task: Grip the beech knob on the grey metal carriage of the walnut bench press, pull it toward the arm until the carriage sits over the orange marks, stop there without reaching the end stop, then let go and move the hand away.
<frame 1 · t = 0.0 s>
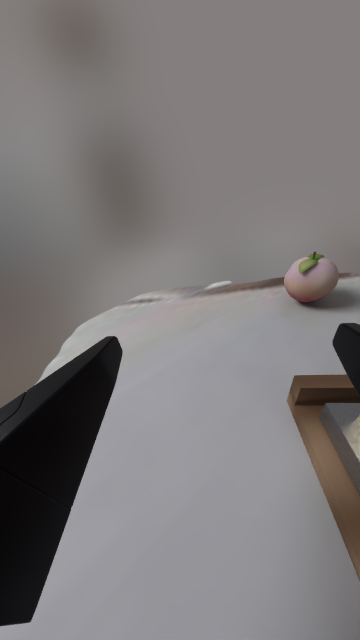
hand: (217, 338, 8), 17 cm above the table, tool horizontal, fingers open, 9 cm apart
decorative fruit: (304, 302, 38), on the table
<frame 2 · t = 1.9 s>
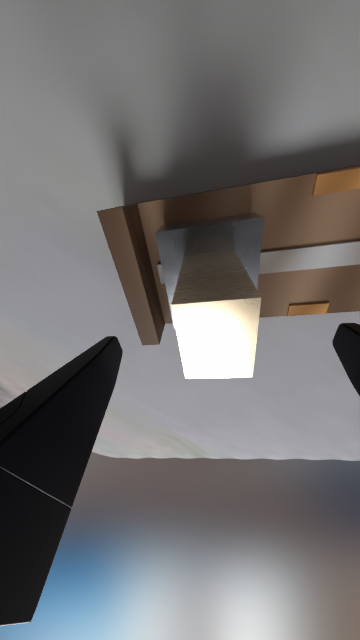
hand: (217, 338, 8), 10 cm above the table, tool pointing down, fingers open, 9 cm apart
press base: (270, 255, 15), on the table
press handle: (211, 296, 11), point 6 cm above the table, slide at 0.0 cm
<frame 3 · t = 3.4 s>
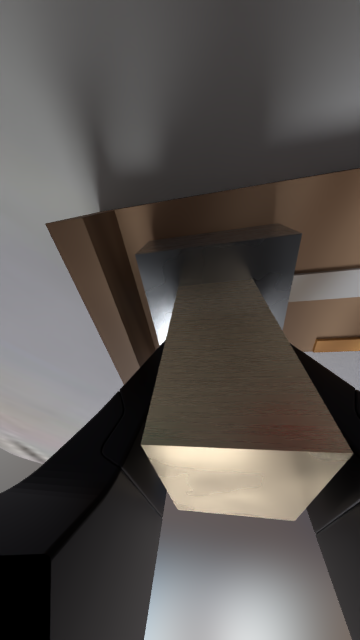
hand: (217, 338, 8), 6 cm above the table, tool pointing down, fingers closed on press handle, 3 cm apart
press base: (293, 276, 12), on the table
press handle: (219, 349, 7), point 6 cm above the table, slide at 0.0 cm, touching gripper
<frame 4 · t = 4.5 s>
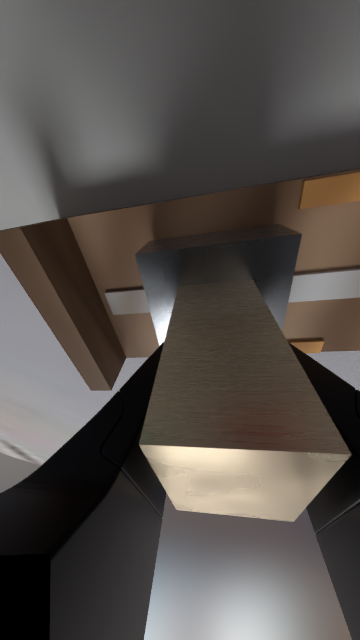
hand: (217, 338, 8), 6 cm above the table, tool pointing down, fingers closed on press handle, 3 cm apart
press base: (249, 280, 12), on the table
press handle: (218, 349, 7), point 6 cm above the table, slide at 2.6 cm, touching gripper
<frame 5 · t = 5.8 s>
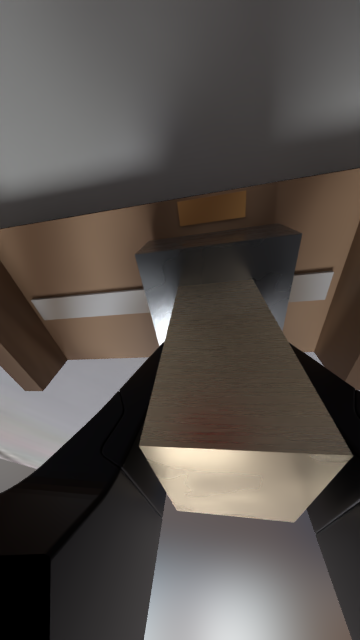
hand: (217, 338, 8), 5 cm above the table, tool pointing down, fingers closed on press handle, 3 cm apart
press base: (169, 288, 13), on the table
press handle: (218, 349, 7), point 6 cm above the table, slide at 7.9 cm, touching gripper
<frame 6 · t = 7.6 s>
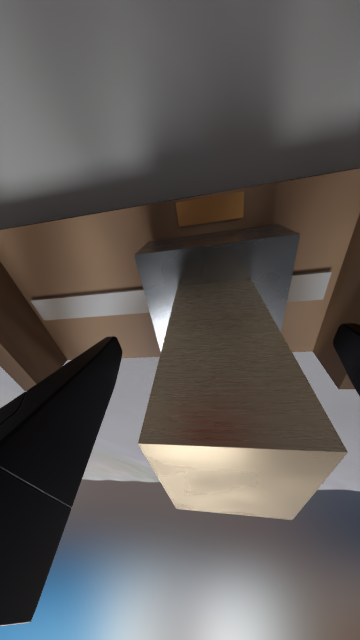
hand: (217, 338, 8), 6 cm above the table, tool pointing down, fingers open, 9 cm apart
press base: (168, 288, 13), on the table
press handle: (217, 349, 7), point 6 cm above the table, slide at 7.9 cm
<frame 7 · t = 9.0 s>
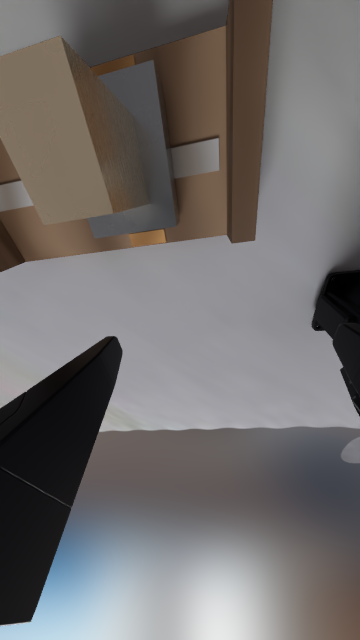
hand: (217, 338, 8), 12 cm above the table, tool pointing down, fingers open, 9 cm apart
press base: (103, 180, 15), on the table
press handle: (104, 165, 10), point 6 cm above the table, slide at 7.9 cm
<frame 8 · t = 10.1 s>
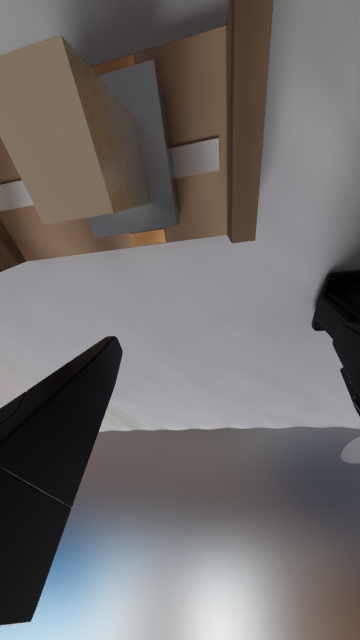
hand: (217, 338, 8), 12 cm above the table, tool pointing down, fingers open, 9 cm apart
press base: (104, 180, 15), on the table
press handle: (104, 165, 10), point 6 cm above the table, slide at 7.9 cm
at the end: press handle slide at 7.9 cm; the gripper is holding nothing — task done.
